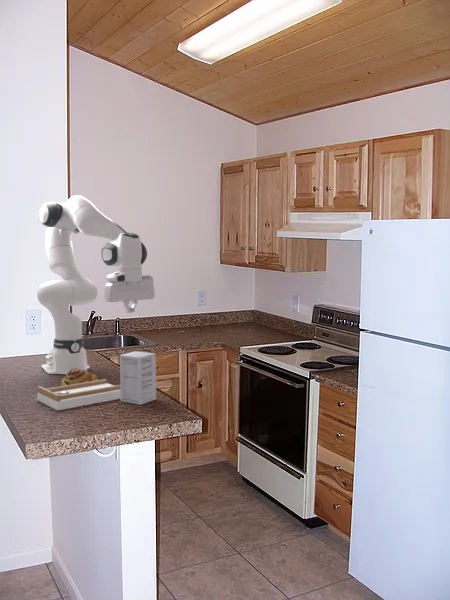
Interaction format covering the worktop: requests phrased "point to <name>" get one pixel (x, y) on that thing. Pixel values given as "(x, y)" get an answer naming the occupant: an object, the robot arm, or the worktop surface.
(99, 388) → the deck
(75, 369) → the pastry
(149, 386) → the supplement box
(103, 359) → the worktop surface
